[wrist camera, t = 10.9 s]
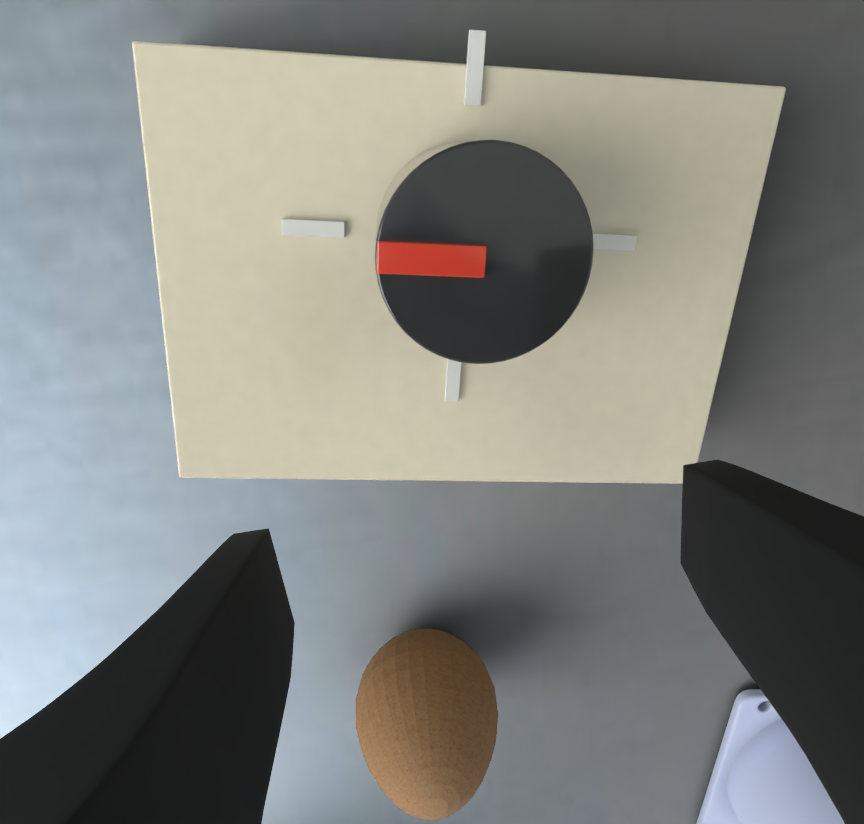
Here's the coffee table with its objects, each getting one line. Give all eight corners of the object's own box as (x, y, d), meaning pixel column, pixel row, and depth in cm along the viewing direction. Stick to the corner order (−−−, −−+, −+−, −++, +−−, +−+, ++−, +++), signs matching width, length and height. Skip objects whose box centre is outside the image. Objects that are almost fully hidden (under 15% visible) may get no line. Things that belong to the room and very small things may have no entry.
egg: (331, 656, 22) (316, 822, 17) (416, 574, 21) (428, 723, 16) (426, 713, 24) (440, 884, 18) (509, 639, 23) (551, 797, 17)
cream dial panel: (736, 68, 16) (800, 53, 14) (657, 446, 20) (696, 487, 18) (165, 26, 15) (123, 2, 12) (202, 438, 19) (176, 481, 17)
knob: (558, 146, 14) (616, 147, 11) (537, 322, 16) (582, 373, 12) (377, 135, 14) (376, 131, 10) (374, 316, 15) (372, 367, 12)
